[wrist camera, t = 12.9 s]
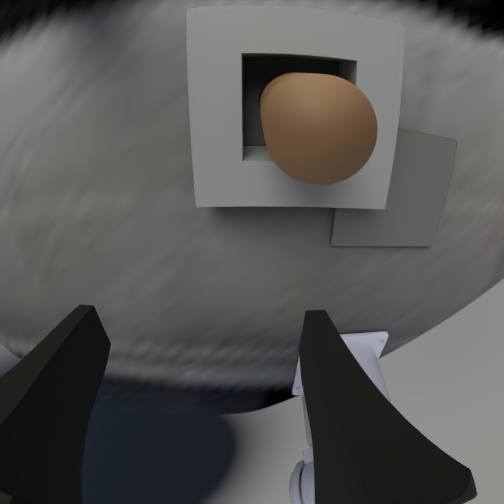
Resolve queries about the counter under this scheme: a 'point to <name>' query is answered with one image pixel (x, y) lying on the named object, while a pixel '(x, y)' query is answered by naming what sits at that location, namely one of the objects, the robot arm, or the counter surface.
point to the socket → (232, 100)
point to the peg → (317, 126)
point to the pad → (403, 197)
